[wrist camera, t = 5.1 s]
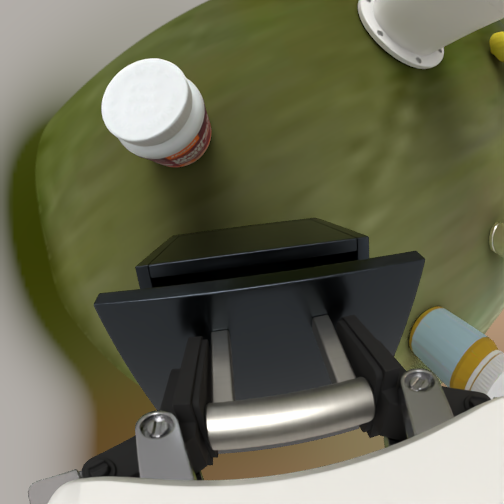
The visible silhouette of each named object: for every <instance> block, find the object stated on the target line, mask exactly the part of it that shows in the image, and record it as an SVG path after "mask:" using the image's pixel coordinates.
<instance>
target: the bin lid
mask: <svg viewBox="0 0 504 504" xmlns="http://www.w3.org/2000/svg"><path fill="white" fill-rule="evenodd" d="M424 263H425V258H423V257H422V256H421V255H420V254H419V253H418V252H417V251H411V252H405V253H400V254H394V255H388V256H382V257H375V258H369V259H363V260H357V261H350V262H344V263H337V264H331V265H324V266H317V267H311V268H304V269H297V270H290V271H283V272H276V273H268V274H261V275H254V276H246V277H238V278H231V279H223V280H215V281H207V282H199V283H190V284H182V285H173V286H164V287H155V288H146V289H137V290H127V291H118V292H108V293H100V294H99V295H98V297H97V299H96V301H95V303H94V307H95V309H96V311H97V313H98V315H99V317H100V319H101V321H102V323H103V325H104V327H105V328H106V330H107V332H108V334H109V336H110V338H111V339H112V341H113V343H114V345H115V346H116V348H117V350H118V352H119V353H120V355H121V357H122V358H123V360H124V362H125V363H126V365H127V366H128V368H129V370H130V371H131V373H132V374H133V376H134V377H135V379H136V380H137V382H138V383H139V385H140V386H141V388H142V389H143V391H144V392H145V394H146V395H147V397H148V398H149V399H150V401H151V402H152V404H153V405H154V406H155V408H156V409H157V411H160V407H161V404H162V400H163V396H164V393H165V389H166V386H167V382H168V379H169V375H170V372H171V370H172V369H180V368H181V364H182V360H183V356H184V352H185V348H186V344H187V341H188V338H189V337H199V336H202V337H203V340H205V339H208V342H209V346H210V351H211V382H212V403H208V404H207V405H206V407H205V414H204V419H205V430H206V436H207V440H208V443H209V445H210V447H211V449H212V450H218V454H221V453H235V452H245V451H255V450H262V449H270V448H276V447H282V446H288V445H294V444H299V443H304V442H309V441H314V440H318V439H322V438H326V437H330V436H334V435H337V434H342V433H345V432H349V431H352V430H355V429H358V428H359V427H360V426H359V425H360V424H363V423H367V422H369V421H371V420H372V419H373V418H374V416H375V410H376V404H375V397H374V393H373V390H372V387H371V385H370V383H369V382H368V381H367V379H365V378H364V377H358V378H356V376H355V374H354V371H353V369H352V367H351V364H350V362H349V360H348V358H347V355H346V353H345V351H344V349H343V346H342V344H341V342H340V340H339V337H338V335H337V333H336V324H337V321H340V319H341V317H345V316H350V315H355V316H356V317H357V318H358V319H359V320H360V321H361V322H362V324H363V325H364V326H365V327H366V328H367V329H368V330H369V331H370V333H371V334H372V335H373V336H374V337H375V338H376V339H377V340H379V341H380V342H381V343H382V344H383V345H384V346H385V347H386V349H387V350H388V351H389V352H390V353H391V354H392V355H393V357H394V355H395V352H396V350H397V347H398V345H399V342H400V339H401V337H402V334H403V331H404V329H405V326H406V323H407V320H408V317H409V314H410V311H411V308H412V305H413V302H414V299H415V296H416V292H417V289H418V285H419V282H420V278H421V275H422V271H423V267H424Z"/></svg>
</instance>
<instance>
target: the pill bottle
mask: <svg viewBox="0 0 504 504" xmlns="http://www.w3.org/2000/svg"><path fill="white" fill-rule="evenodd" d="M102 116H103V120H104V123H105V125H106V127H107V128H108V130H109V131H110V132H111V133H112V134H113V135H115V136H116V137H118V138H119V140H120V142H121V143H122V144H123V145H124V146H125V147H126V148H127V149H128V150H129V151H130V152H132V153H134V154H135V155H137V156H139V157H142V158H146V159H149V160H151V161H154V162H156V163H159V164H162V165H165V166H168V167H183V166H187V165H189V164H191V163H193V162H195V161H196V160H198V159H199V158H200V157H201V156H202V155H203V154H204V152H205V151H206V149H207V148H208V145H209V143H210V140H211V125H210V121H209V118H208V115H207V112H206V108H205V104H204V100H203V98H202V96H201V93H200V92H199V90H198V89H197V87H196V86H195V85H194V84H193V83H192V82H191V81H190V80H188V79H187V78H186V77H185V75H184V74H183V72H182V71H181V70H180V69H179V68H178V67H177V66H176V65H174V64H173V63H171V62H169V61H166V60H162V59H144V60H140V61H137V62H135V63H132V64H130V65H129V66H127V67H125V68H124V69H123V70H121V71H120V72H119V73H118V74H117V75H116V76H115V77H114V78H113V79H112V81H111V82H110V84H109V85H108V87H107V89H106V91H105V93H104V96H103V100H102Z"/></svg>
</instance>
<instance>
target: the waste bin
mask: <svg viewBox="0 0 504 504" xmlns="http://www.w3.org/2000/svg"><path fill="white" fill-rule="evenodd" d="M363 259H369V237H368V236H366V235H363V234H360V233H357V232H355V231H352V230H349V229H346V228H344V227H341V226H338V225H335V224H332V223H330V222H327V221H324V220H321V219H317V218H310V219H301V220H292V221H283V222H275V223H266V224H258V225H250V226H242V227H234V228H226V229H219V230H211V231H204V232H197V233H190V234H182V235H176V236H172V237H170V238H169V239H168V240H167V241H166V242H164V243H163V244H162V245H161V246H159V247H158V248H157V249H156V250H155V251H153V252H152V253H151V254H150V255H149V256H148V257H146V258H145V259H144V260H143V261H142V262H140V263H139V264H138V265H137V266H136V267H135V268H136V272H137V277H138V281H139V286H140V289H146V288H155V287H164V286H173V285H182V284H190V283H199V282H207V281H215V280H223V279H231V278H238V277H246V276H254V275H261V274H268V273H276V272H283V271H290V270H297V269H304V268H311V267H317V266H324V265H331V264H337V263H344V262H350V261H357V260H363Z"/></svg>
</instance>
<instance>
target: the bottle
mask: <svg viewBox="0 0 504 504" xmlns="http://www.w3.org/2000/svg"><path fill="white" fill-rule="evenodd" d="M409 345H410V349H411V350H412V351H413V353H414V354H415V355H416V356H417V357H418V358H419V359H420V360H421V361H422V362H423V363H424V364H425V365H426V366H427V367H428V368H429V369H430V370H431V371H432V372H433V373H434V374H435V375H436V376H437V377H438V378H439V379H440V380H441V381H442V382H443V383H444V384H446V385H447V387H449V388H456V389H462V390H469V391H477V392H481V393H484V394H486V395H488V396H489V397H490V398H491V400H492V399H493V397H502V396H504V354H503V352H501V351H500V350H498V348H497V347H496V345H495V343H494V342H493V341H492V340H491V339H490V338H489V337H487V336H486V335H484V334H483V333H481V332H480V331H478V330H477V329H475V328H474V327H472V326H471V325H469V324H468V323H466V322H465V321H463V320H462V319H460V318H459V317H457V316H455V315H454V314H452V313H451V312H449V311H448V310H446V309H444V308H442V307H433V308H430V309H428V310H427V311H425V312H424V313H422V314H421V315H420V316H419V318H418V319H417V320H416V322H415V323H414V325H413V327H412V329H411V332H410V339H409Z"/></svg>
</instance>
